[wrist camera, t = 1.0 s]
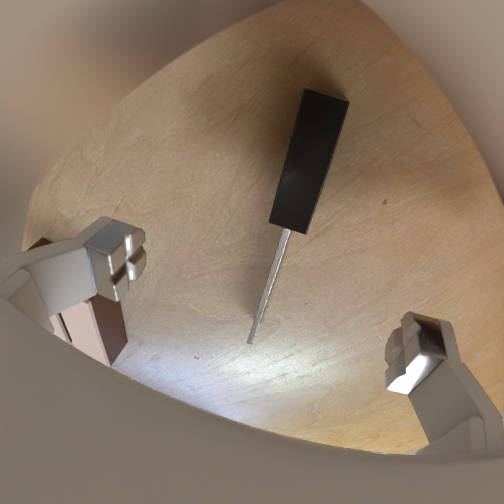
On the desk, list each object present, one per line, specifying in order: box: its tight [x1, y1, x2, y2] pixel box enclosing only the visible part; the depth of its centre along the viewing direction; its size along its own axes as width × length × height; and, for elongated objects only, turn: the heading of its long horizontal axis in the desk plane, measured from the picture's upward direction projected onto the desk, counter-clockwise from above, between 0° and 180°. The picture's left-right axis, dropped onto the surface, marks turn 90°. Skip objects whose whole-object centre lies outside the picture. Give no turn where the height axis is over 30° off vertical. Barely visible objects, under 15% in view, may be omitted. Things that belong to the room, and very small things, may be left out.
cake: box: [27, 238, 127, 367], centre depth 34 cm, size 14×14×6 cm
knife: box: [247, 87, 349, 345], centre depth 22 cm, size 22×3×3 cm, turn 168°
